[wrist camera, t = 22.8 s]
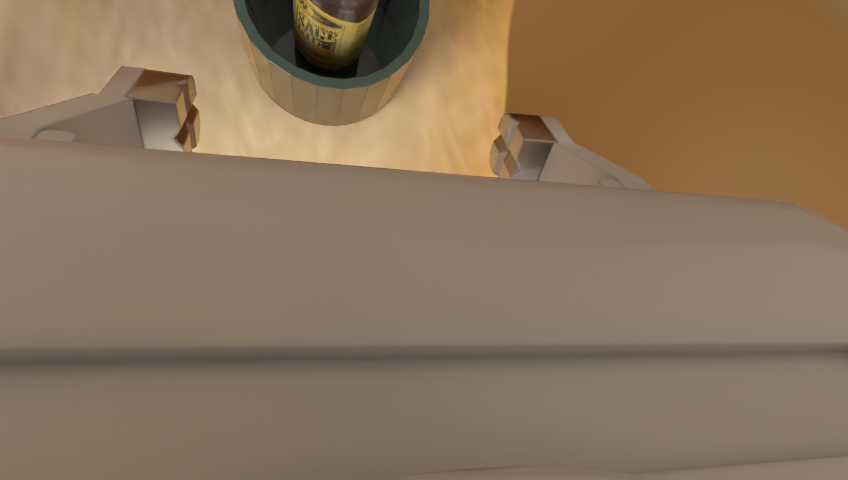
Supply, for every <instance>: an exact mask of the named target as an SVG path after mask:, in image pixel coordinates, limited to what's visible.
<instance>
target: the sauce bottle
mask: <svg viewBox="0 0 848 480" xmlns="http://www.w3.org/2000/svg"><path fill="white" fill-rule="evenodd" d="M378 1H379V0H293V34H294V40H295V43H296V45H297V49H298V51H299V53H300V55H301V57H302V59H304V60H305V61H306V62H307V63H308V64H309V65H311V66H312V67H314V68H315V69H318V70H320V71H322V72H329V73H331V72H338V71H343V70H346V69H348V68H349V67H350V66H351V65H352V64H353V63H354V61H355V60H356V59H357V58H358V57H359V55H360V53H361V51H362V48H363V45H364V42H365V39H366V37H367V34H368V31H369V28H370V25H371V22H372V19H373V16H374V13H375V10H376V7H377V4H378Z"/></svg>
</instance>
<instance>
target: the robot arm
mask: <svg viewBox="0 0 848 480" xmlns="http://www.w3.org/2000/svg"><path fill="white" fill-rule="evenodd" d="M196 94H197V93H196V87H195V81H194V79H193V76H192V75H184V74H177V73H169V72H162V71H155V70H147V69H145V68H135V67H124V66H121V67H120V68H119V70H118V71H117V72H116V73H115V74H114V76H113V77H112V78H111V79H110V81H109V82H108V83H107V84H106V86H105V87H104V88H103V89H102V91H101V92H100V93H99V94H88V95H84V96H81V97H77V98H74V99H70V100H67V101H63V102H60V103H56V104H53V105H49V106H46V107H42V108H39V109H35V110H32V111H28V112H25V113H21V114H18V115H14V116H11V117H7V118H4V119H0V480H848V230H846V229H845V228H843V227H841V226H839V225H837V224H835V223H834V222H832V221H830V220H828V219H826V218H824V217H822V216H820V215H817V214H815V213H813V212H811V211H809V210H807V209H805V208H803V207H800V206H797V205H795V204H792V203H788V202H783V201H775V200H759V199H748V198H735V197H723V196H711V195H699V194H687V193H675V192H663V191H654V190H653V189H652V187H651V186H650V185H649V184H648V183H647V182H646V181H645V180H643V179H641V178H639V177H637V176H636V175H634V174H632V173H630V172H628V171H626V170H625V169H623V168H621V167H619V166H617V165H615V164H613V163H612V162H610V161H608V160H606V159H604V158H603V157H601V156H599V155H597V154H595V153H593V152H592V151H590V150H588V149H586V148H584V147H582V146H581V145H575V144H574V142H573V141H572V140H571V138H570V137H569V136H568V134H567V133H566V131H565V130H564V129H563V127H562V126H561V125H560V123H559V122H558V120H557V119H556V118H553V117H541V116H537V115H526V114H515V113H506V114H504V115H503V117H502V118H501V120H500V123H499V126H498V129H499V131H500V134H501V135H500V136H499V137H498V138H497V139H495V140H494V141H493V145H492V148H491V151H490V166H491V169H492V172H493V173H495V174H496V175H497V176H498V178H496V177H484V176H472V175H459V174H447V173H435V172H423V171H411V170H399V169H387V168H375V167H363V166H351V165H339V164H327V163H315V162H303V161H291V160H279V159H267V158H255V157H243V156H231V155H219V154H207V153H195V152H192V149H193V148H195V147H197V144H198V141H199V134H200V118H199V111H198V109H197V108H196V107H195V106H194V105H193V101H194V99H195V97H196Z"/></svg>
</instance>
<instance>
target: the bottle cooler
mask: <svg viewBox="0 0 848 480" xmlns="http://www.w3.org/2000/svg"><path fill="white" fill-rule="evenodd" d="M233 2H234V6H235V10H236V15H237V18H238V22H239V25H240V29H241V32H242V36H243V39H244V43H245V46H246V50H247V53H248V57H249V61H250V64H251V66H252V69H253V71H254V73H255V76H256V78H257V80H258V81H259V83H260V85H261V86H262V88H263V89H264V90H265V92H266V93H267V94H268V95H269V97H270V98H271V99H272V100H273V101H274V102H275V103H276V104H278V105H279V106H280V107H281V108H283V109H284V110H285V111H287V112H289V113H290V114H292V115H294V116H296V117H298V118H300V119H303V120H305V121H308V122H312V123H315V124H321V125H331V126H338V125H347V124H351V123H356V122H358V121H361V120H364V119H366V118H368V117H370V116H371V115H373V114H375V113H376V112H377V111H379V110H380V109H381V108H382V107H383V106H384V105H385V104H386V103H387V102H388V101H389V100H390V98H391V97H392V96H393V94H394V92H395V91H396V89H397V88H398V86H399V85H400V83H401V81H402V79H403V77H404V75H405V73H406V71H407V69H408V67H409V65H410V64H411V62H412V60H413V58H414V56H415V54H416V52H417V50H418V48H419V46H420V44H421V42H422V40H423V36H424V33H425V30H426V27H427V24H428V20H429V0H379V1H378V4H377V7H376V10H375V13H374V16H373V19H372V22H371V25H370V28H369V31H368V34H367V37H366V39H365V42H364V45H363V48H362V51H361V53H360V55H359V57H358V58H357V59H356V60H355V61H354V63H353V64H352V65H351V66H350V67H349V68H348V69H346V70H343V71H338V72H331V73H329V72H322V71H320V70H318V69H315V68H314V67H312V66H311V65H309V64H308V63H307V62H306V61H305V60H304V59H302V57H301V55H300V53H299V51H298V49H297V45H296V43H295V40H294V34H293V0H233Z"/></svg>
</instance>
